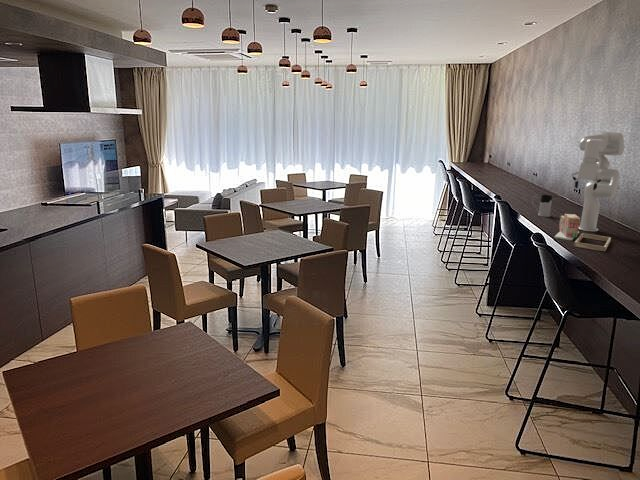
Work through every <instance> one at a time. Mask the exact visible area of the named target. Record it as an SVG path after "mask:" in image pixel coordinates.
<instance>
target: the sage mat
mask: <svg viewBox="0 0 640 480" xmlns="http://www.w3.org/2000/svg"><path fill="white" fill-rule="evenodd" d="M578 234H580V230H578ZM554 239H559V240H566V241H574V239H575V238H572V237H566V236H565V235H564V234H563V233H562V232H561V231H560V230H559V232H557V233H556V234H555V236H554Z"/></svg>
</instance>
